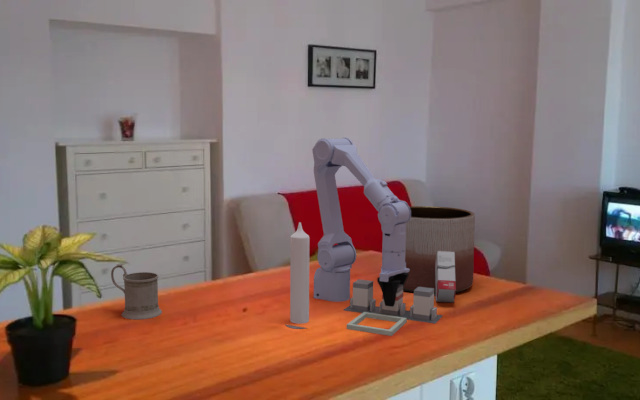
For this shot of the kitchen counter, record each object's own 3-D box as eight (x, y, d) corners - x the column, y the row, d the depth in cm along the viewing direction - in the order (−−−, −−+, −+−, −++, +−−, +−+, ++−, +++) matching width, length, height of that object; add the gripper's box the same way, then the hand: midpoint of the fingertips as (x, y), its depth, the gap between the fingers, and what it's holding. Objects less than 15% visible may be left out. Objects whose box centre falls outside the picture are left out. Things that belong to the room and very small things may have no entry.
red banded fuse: (381, 313, 165) (382, 286, 164) (387, 309, 168) (387, 282, 167) (397, 316, 163) (398, 288, 162) (402, 311, 166) (403, 284, 166)
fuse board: (342, 313, 168) (343, 300, 167) (353, 306, 174) (353, 293, 173) (435, 327, 157) (435, 313, 157) (442, 319, 164) (443, 305, 163)
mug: (169, 310, 169) (168, 265, 168) (144, 321, 160) (143, 273, 159) (125, 303, 175) (124, 259, 174) (99, 313, 166) (97, 267, 165)
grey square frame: (346, 332, 153) (346, 324, 153) (363, 319, 163) (364, 311, 163) (391, 340, 149) (391, 331, 148) (406, 326, 158) (406, 317, 158)
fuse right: (412, 318, 161) (413, 290, 160) (417, 313, 165) (418, 286, 164) (428, 320, 159) (429, 292, 159) (433, 316, 163) (434, 288, 162)
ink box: (456, 290, 169) (455, 250, 176) (437, 289, 170) (436, 250, 176) (453, 305, 176) (452, 266, 183) (435, 304, 177) (434, 265, 184)
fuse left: (352, 309, 168) (352, 282, 167) (358, 305, 172) (358, 279, 171) (367, 311, 166) (367, 284, 165) (372, 307, 170) (373, 281, 169)
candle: (318, 321, 161) (319, 220, 158) (308, 330, 154) (308, 225, 151) (291, 318, 163) (291, 219, 160) (280, 327, 157) (280, 223, 153)
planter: (412, 270, 214) (414, 203, 211) (486, 283, 199) (489, 211, 196) (370, 286, 194) (371, 212, 191) (449, 302, 179) (452, 222, 176)
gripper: (399, 257, 155) (398, 313, 157) (418, 246, 168) (416, 298, 170) (371, 254, 158) (370, 309, 160) (391, 244, 171) (390, 294, 173)
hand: (392, 303), depth 165 cm, fingers closed on red banded fuse, 4 cm apart
